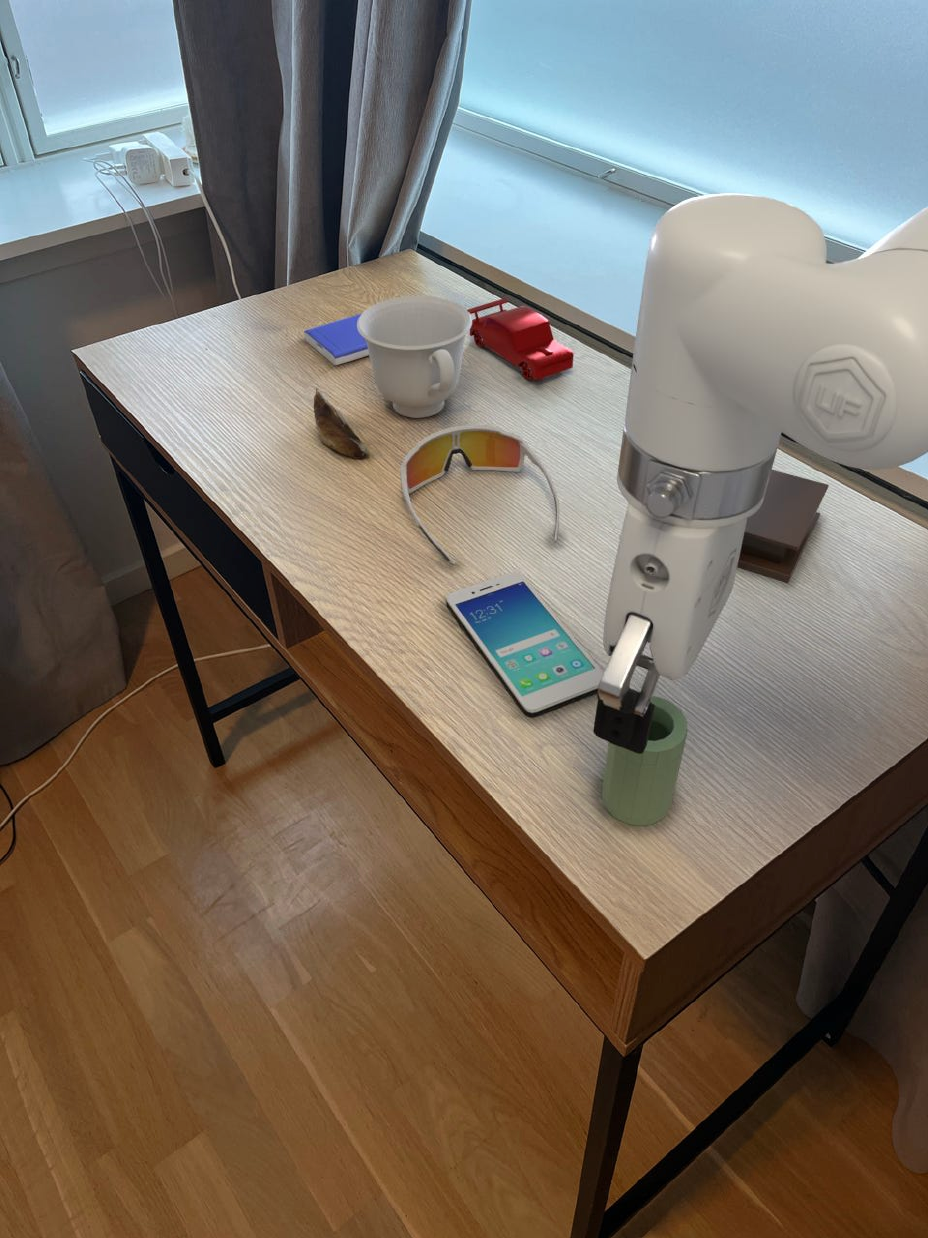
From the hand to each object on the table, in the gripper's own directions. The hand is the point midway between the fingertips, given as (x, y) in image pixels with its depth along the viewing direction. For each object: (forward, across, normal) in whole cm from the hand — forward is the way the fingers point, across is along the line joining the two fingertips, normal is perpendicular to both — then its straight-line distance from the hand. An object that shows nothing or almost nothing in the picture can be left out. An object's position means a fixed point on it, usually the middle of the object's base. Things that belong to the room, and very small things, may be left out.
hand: (649, 689), depth 61 cm
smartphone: (+11, +10, +13) cm, 20 cm away
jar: (+11, 0, -1) cm, 11 cm away
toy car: (+12, +53, +36) cm, 65 cm away
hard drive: (+12, +48, +54) cm, 74 cm away
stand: (+11, +33, 0) cm, 35 cm away
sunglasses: (+12, +24, +25) cm, 37 cm away
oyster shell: (+12, +28, +44) cm, 54 cm away
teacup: (+12, +37, +39) cm, 56 cm away
